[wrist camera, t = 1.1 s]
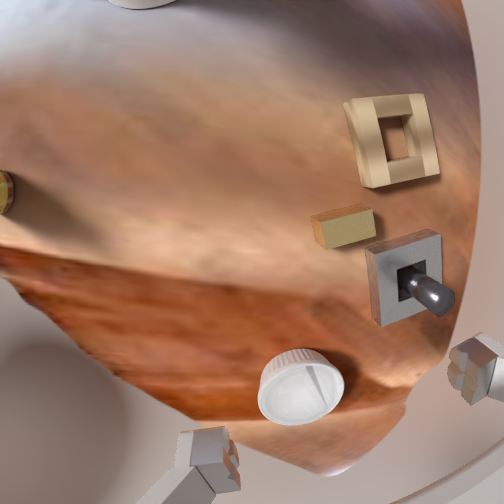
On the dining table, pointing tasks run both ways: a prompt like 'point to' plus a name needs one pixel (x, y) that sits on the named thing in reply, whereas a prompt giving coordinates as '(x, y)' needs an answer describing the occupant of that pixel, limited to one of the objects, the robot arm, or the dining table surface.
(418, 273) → the dark grey rounded rod
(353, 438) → the dining table surface
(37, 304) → the dining table surface
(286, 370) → the ramekin
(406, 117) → the block
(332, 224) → the bar
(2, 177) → the sauce bottle
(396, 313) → the socket plate
